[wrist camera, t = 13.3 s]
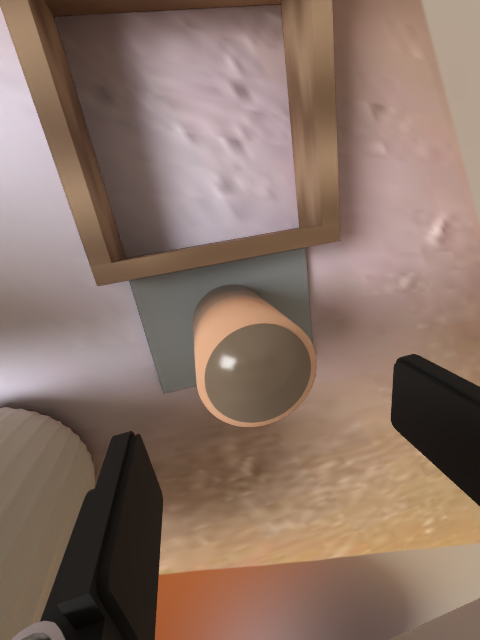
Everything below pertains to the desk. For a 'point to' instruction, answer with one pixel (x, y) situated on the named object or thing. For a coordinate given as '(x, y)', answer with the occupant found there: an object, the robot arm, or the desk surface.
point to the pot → (249, 358)
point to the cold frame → (81, 165)
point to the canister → (36, 510)
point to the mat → (193, 284)
